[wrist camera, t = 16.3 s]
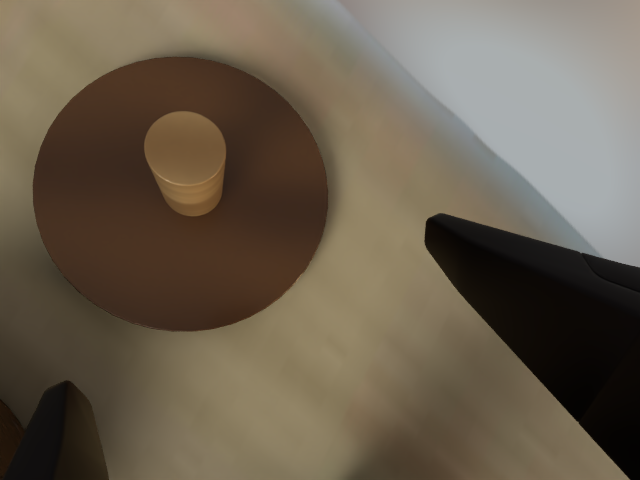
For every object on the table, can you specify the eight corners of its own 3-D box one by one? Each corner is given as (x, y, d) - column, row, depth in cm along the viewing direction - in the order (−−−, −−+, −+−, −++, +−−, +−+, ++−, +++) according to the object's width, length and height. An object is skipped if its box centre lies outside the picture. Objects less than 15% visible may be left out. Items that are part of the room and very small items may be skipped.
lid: (328, 322, 24) (375, 331, 17) (33, 339, 20) (-58, 359, 13) (318, 79, 26) (357, -1, 19) (48, 54, 22) (-26, -57, 15)
